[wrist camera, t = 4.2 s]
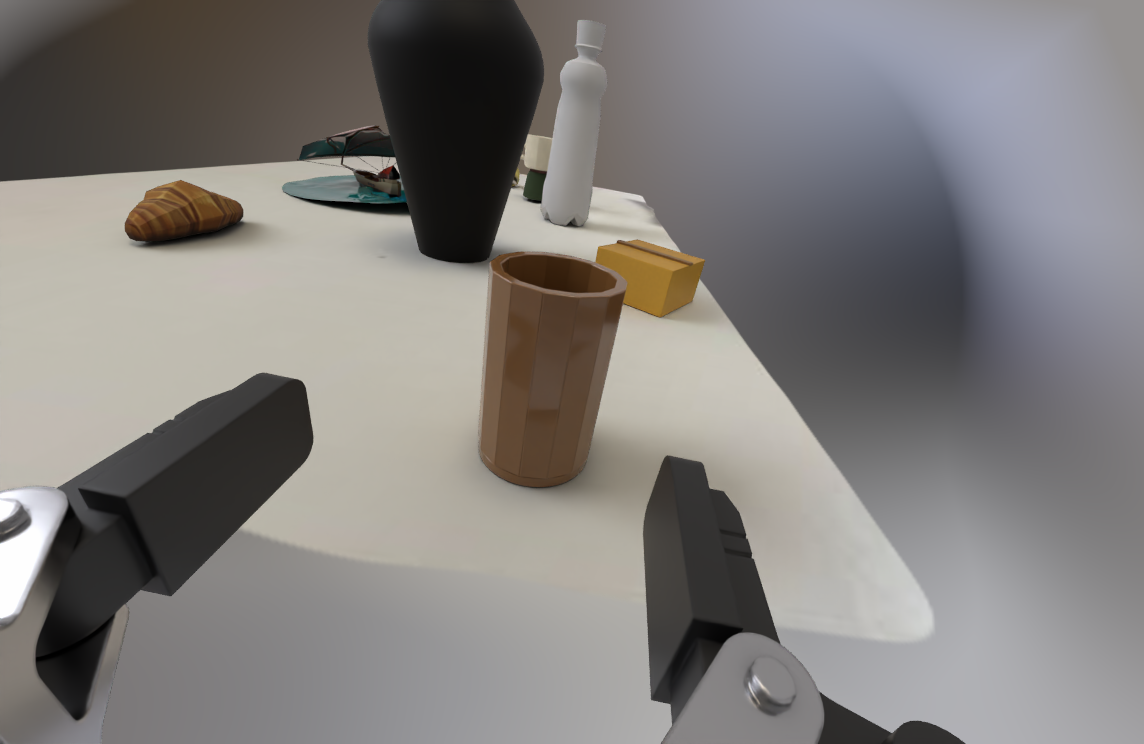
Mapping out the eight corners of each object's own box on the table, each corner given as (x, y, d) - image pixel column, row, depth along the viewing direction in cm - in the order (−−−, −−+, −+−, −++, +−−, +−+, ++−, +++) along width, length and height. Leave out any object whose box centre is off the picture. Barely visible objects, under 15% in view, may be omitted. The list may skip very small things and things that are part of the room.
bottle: (572, 217, 87) (600, 34, 73) (595, 229, 81) (632, 30, 66) (531, 215, 83) (552, 18, 68) (553, 227, 76) (582, 12, 62)
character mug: (562, 203, 101) (571, 141, 95) (555, 207, 95) (564, 141, 89) (518, 194, 102) (523, 133, 96) (508, 197, 96) (513, 131, 90)
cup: (608, 449, 25) (651, 281, 20) (539, 508, 20) (573, 308, 15) (529, 403, 27) (550, 246, 23) (453, 446, 23) (459, 260, 18)
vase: (550, 270, 53) (606, -135, 36) (412, 279, 43) (400, -281, 26) (483, 233, 64) (502, -92, 47) (360, 233, 54) (328, -182, 37)
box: (693, 301, 52) (706, 258, 49) (661, 318, 45) (674, 268, 42) (627, 278, 56) (637, 237, 53) (589, 290, 49) (597, 243, 46)
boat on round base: (400, 181, 92) (393, 120, 87) (492, 202, 79) (490, 132, 73) (254, 191, 73) (231, 114, 67) (342, 222, 59) (323, 129, 53)
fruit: (504, 188, 108) (488, 175, 114) (523, 197, 112) (506, 184, 118) (514, 166, 105) (496, 153, 111) (533, 175, 110) (515, 163, 116)
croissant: (209, 215, 51) (198, 168, 48) (268, 224, 51) (260, 179, 49) (95, 240, 39) (73, 180, 37) (173, 252, 39) (156, 194, 37)
